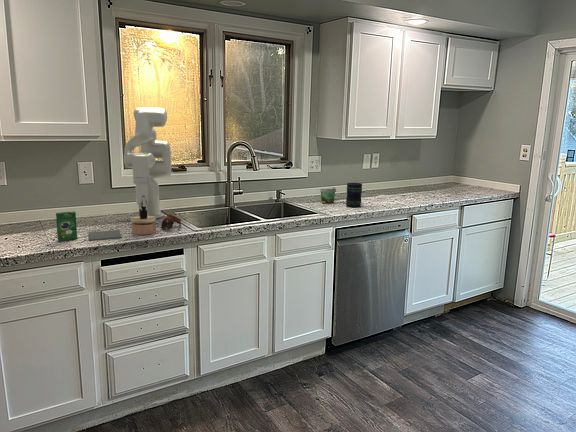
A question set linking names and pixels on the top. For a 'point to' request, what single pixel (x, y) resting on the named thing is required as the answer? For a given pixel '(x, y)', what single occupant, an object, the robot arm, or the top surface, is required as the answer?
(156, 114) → the robot arm
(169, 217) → the pottery mug
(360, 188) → the storage jar
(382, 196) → the top surface
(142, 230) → the bowl
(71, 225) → the coffee box
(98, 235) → the mat
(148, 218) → the lid
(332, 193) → the food container
